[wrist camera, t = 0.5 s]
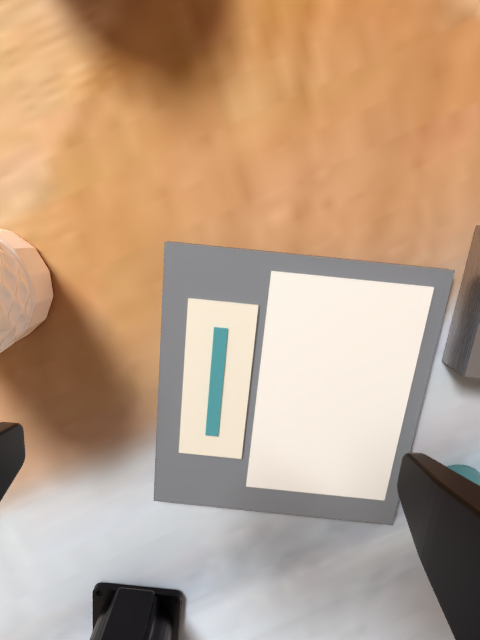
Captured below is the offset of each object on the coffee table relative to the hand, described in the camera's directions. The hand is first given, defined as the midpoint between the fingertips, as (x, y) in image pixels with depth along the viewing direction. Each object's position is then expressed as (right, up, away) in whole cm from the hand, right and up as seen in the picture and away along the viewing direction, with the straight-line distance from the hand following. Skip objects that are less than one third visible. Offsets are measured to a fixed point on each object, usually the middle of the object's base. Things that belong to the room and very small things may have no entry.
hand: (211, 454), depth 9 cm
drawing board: (+4, -1, +14) cm, 15 cm away
